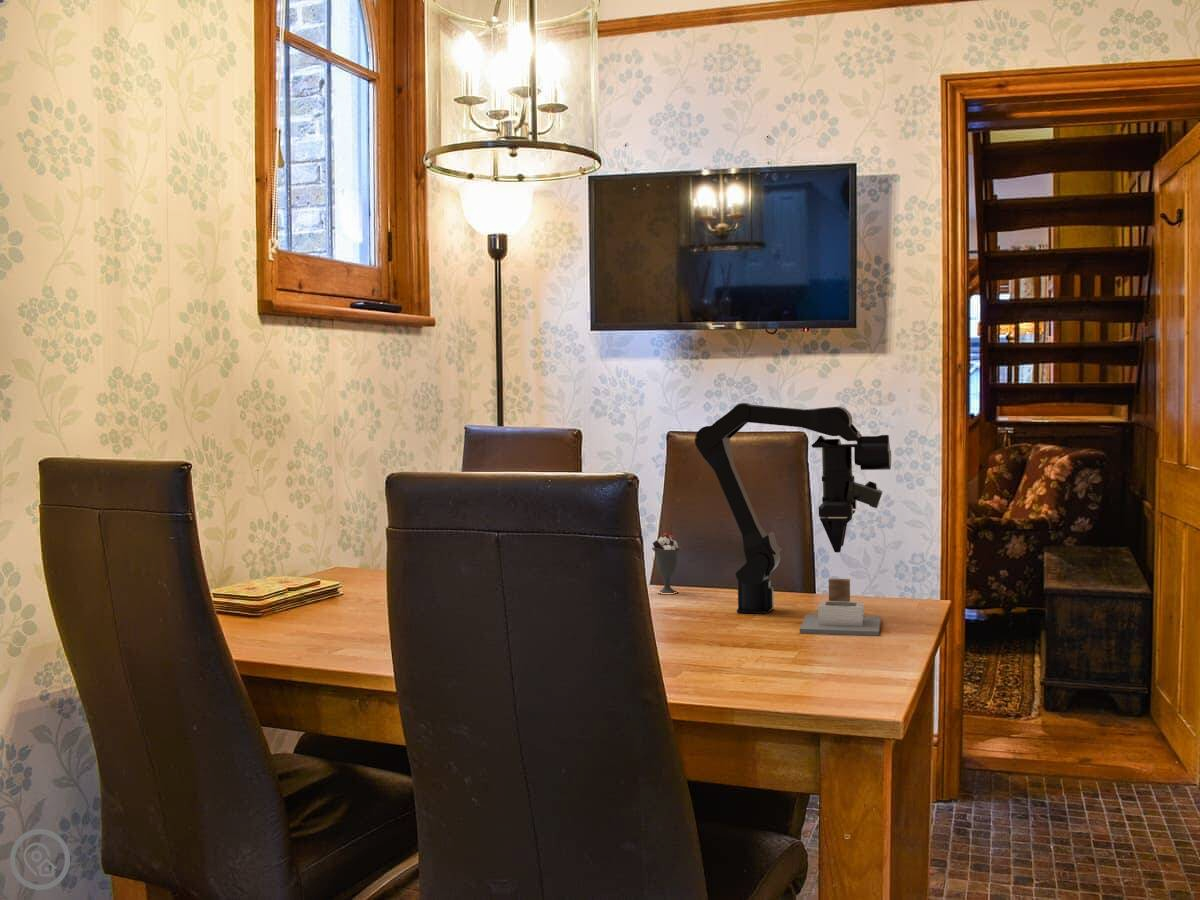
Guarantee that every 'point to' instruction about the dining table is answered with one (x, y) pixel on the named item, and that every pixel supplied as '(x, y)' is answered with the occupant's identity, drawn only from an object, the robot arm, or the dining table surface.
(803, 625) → the slate board
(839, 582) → the wooden block
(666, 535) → the sundae
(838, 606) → the white hollow frame
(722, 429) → the robot arm
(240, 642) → the dining table surface
